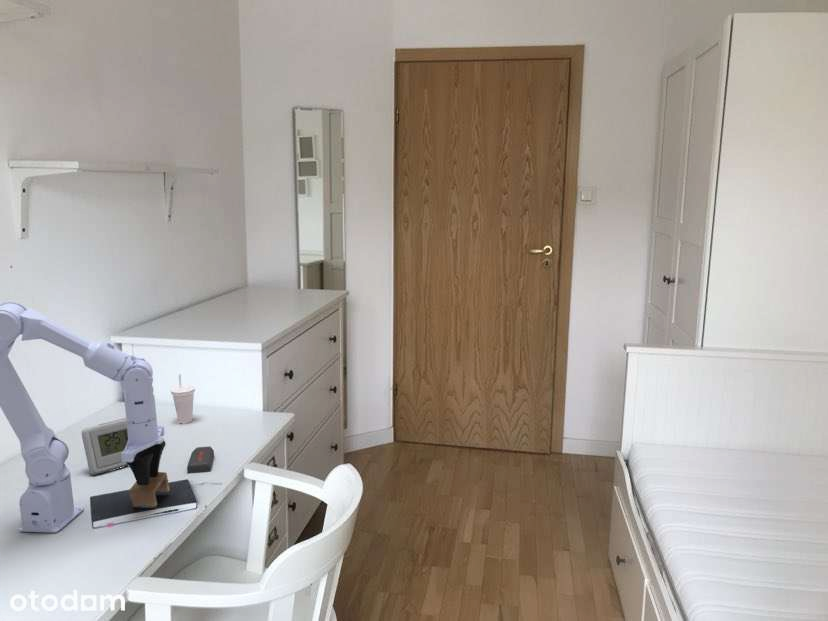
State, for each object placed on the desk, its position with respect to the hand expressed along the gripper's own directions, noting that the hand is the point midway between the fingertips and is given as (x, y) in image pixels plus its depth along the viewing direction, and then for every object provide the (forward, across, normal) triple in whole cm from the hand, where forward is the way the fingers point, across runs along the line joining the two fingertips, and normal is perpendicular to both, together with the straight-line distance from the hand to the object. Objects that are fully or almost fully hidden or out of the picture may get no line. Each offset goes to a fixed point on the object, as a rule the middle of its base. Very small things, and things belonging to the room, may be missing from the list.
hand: (147, 480), depth 137 cm
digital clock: (+6, +19, +16) cm, 26 cm away
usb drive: (+6, +21, -3) cm, 22 cm away
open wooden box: (+3, -2, 0) cm, 4 cm away
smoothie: (+6, +48, +13) cm, 51 cm away
